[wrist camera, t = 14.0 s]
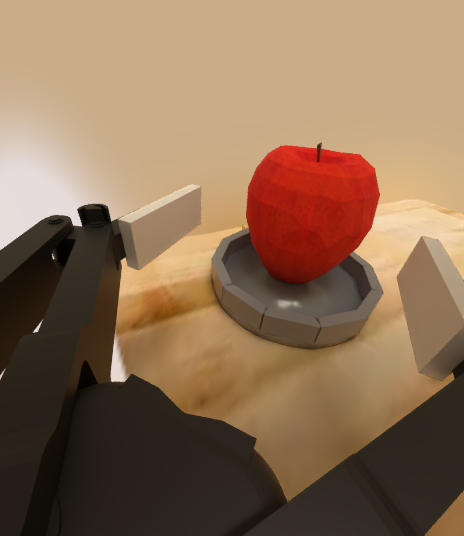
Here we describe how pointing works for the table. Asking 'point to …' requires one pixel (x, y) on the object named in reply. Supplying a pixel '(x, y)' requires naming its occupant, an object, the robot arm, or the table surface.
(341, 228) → the apple
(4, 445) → the robot arm
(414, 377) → the table surface
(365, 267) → the dish
